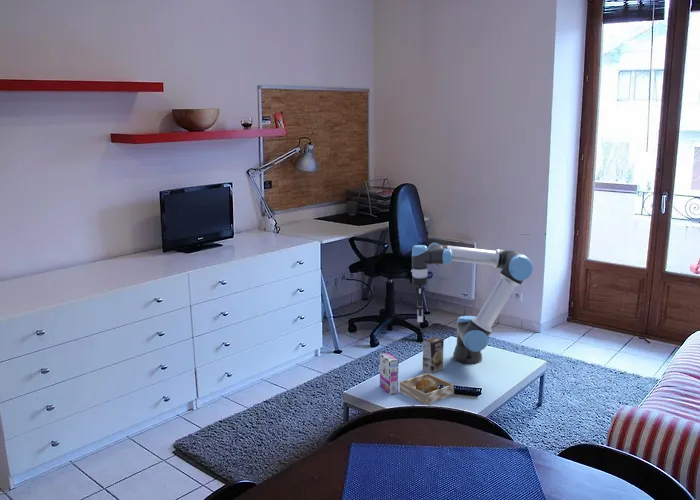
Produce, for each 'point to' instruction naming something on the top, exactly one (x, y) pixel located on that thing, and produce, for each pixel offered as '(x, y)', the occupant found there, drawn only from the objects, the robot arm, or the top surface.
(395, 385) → the candy bar box
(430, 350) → the coffee box
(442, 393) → the wooden tray
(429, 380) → the bread roll
